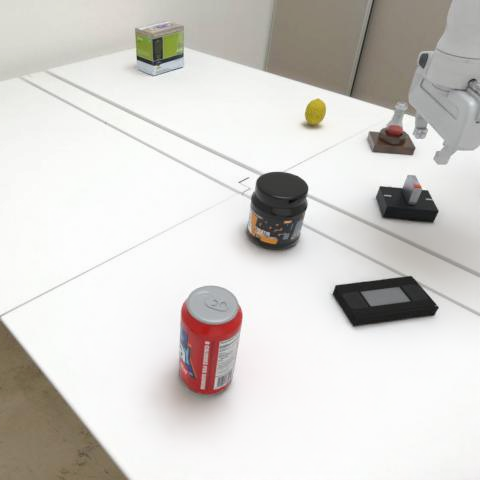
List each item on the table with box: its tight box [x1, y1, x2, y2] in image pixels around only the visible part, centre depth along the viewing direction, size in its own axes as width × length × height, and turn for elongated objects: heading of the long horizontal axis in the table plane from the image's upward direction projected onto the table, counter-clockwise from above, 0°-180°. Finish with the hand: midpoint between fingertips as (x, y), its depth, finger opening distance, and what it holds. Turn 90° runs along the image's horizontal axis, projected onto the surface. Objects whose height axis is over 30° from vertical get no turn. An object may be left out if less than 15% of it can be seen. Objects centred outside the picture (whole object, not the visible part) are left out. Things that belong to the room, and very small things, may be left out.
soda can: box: [178, 285, 244, 396], centre depth 62 cm, size 8×8×15 cm
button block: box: [366, 127, 416, 156], centre depth 120 cm, size 10×8×4 cm
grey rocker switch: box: [401, 174, 423, 205], centre depth 95 cm, size 6×2×4 cm, turn 170°
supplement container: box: [246, 171, 309, 250], centre depth 88 cm, size 10×10×12 cm
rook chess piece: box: [385, 101, 409, 129], centre depth 126 cm, size 4×4×8 cm
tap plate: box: [375, 185, 440, 224], centre depth 98 cm, size 10×8×3 cm
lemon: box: [304, 97, 327, 127], centre depth 129 cm, size 6×6×8 cm
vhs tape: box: [332, 275, 439, 327], centre depth 76 cm, size 8×14×2 cm, turn 99°
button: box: [386, 125, 404, 137], centre depth 118 cm, size 4×4×2 cm
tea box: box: [134, 20, 185, 76], centre depth 165 cm, size 15×10×15 cm, turn 130°
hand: (428, 149), depth 80 cm, fingers open, 8 cm apart
